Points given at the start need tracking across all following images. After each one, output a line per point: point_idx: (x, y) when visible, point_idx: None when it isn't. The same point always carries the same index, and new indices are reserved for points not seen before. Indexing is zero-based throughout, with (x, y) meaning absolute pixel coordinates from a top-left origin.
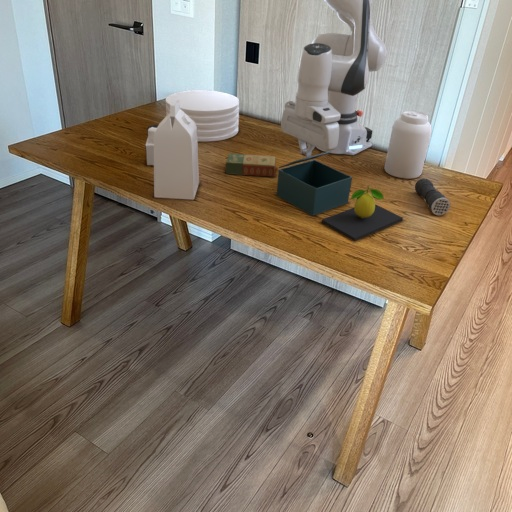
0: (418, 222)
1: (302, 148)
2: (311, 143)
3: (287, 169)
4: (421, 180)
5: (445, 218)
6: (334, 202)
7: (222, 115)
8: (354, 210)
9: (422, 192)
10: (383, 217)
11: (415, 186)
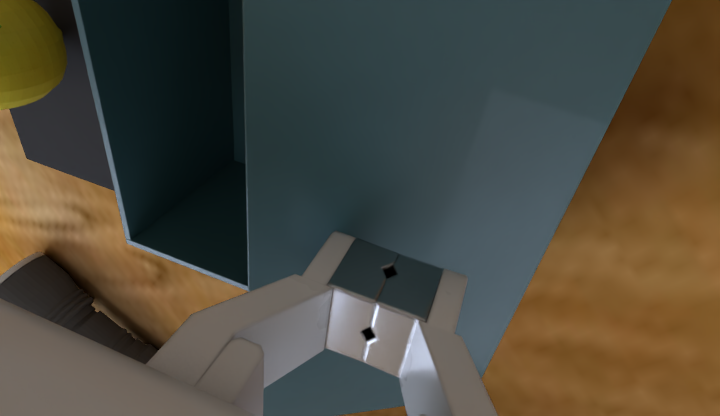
0: (20, 177)
1: (417, 337)
2: (39, 341)
3: None
4: None
5: (24, 248)
6: (207, 67)
7: None
8: (33, 7)
9: (105, 340)
10: (43, 110)
11: None
